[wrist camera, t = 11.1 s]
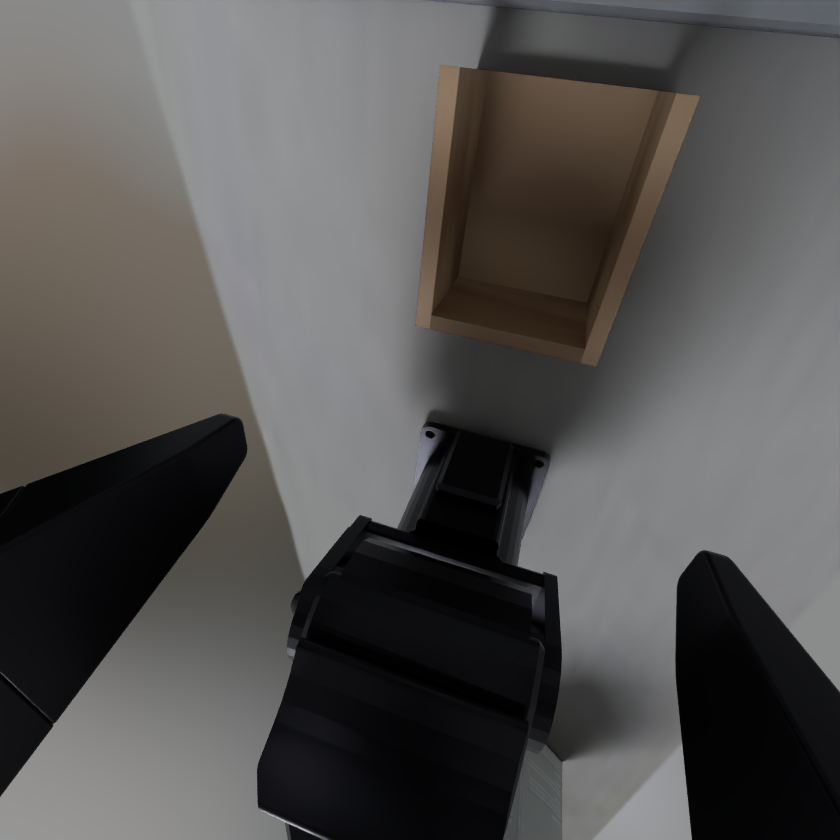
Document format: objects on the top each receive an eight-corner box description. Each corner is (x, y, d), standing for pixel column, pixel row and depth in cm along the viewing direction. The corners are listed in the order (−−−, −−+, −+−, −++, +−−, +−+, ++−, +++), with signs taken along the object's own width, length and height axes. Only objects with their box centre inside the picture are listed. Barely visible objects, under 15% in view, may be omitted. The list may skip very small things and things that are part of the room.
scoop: (596, 311, 18) (596, 366, 14) (448, 281, 19) (415, 325, 15) (673, 92, 14) (700, 96, 10) (476, 69, 15) (440, 65, 11)
